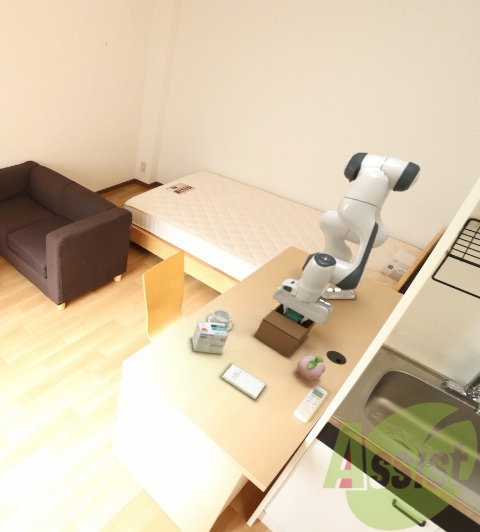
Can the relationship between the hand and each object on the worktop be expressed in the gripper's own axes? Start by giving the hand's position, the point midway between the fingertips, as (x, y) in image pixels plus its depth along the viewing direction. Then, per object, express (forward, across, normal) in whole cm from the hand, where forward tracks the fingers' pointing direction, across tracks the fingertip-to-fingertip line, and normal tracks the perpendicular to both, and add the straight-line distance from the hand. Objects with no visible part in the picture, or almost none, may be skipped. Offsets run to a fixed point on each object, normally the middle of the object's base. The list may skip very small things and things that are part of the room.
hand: (292, 318), depth 144 cm
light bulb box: (+9, +16, +33) cm, 38 cm away
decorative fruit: (+9, -15, +16) cm, 23 cm away
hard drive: (+9, -2, +37) cm, 38 cm away
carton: (+9, 0, +4) cm, 9 cm away
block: (+2, 0, 0) cm, 2 cm away
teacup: (+9, +20, +17) cm, 28 cm away
